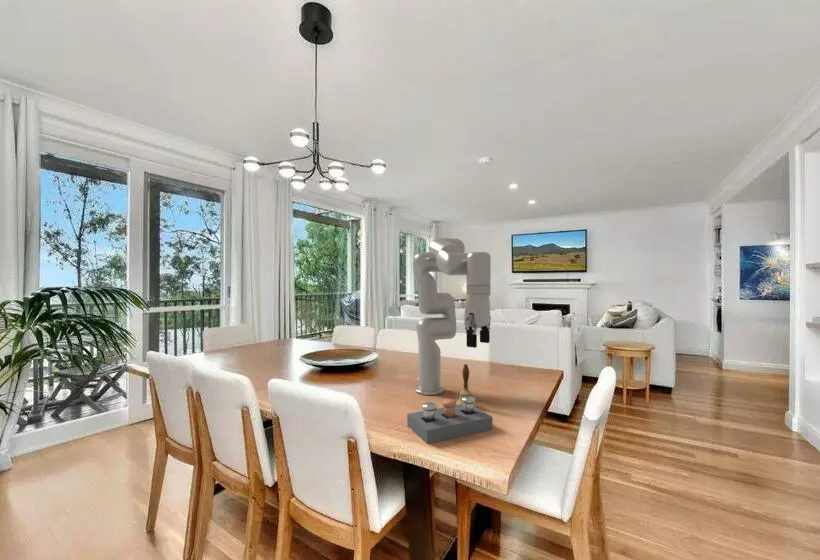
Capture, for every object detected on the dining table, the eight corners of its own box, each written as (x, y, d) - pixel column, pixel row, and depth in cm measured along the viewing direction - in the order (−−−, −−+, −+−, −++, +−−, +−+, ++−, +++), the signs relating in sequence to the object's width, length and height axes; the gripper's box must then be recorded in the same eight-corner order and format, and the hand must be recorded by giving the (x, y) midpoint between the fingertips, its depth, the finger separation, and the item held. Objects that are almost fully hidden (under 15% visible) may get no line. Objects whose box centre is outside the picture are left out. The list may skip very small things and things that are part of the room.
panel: (407, 425, 118) (407, 413, 118) (467, 414, 128) (467, 403, 128) (427, 443, 105) (427, 430, 105) (492, 429, 116) (492, 416, 116)
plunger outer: (420, 419, 115) (420, 403, 115) (432, 416, 116) (432, 401, 116) (426, 424, 111) (426, 408, 111) (438, 421, 113) (438, 406, 112)
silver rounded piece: (459, 411, 121) (459, 397, 121) (470, 409, 123) (470, 395, 123) (466, 416, 117) (466, 401, 117) (477, 414, 119) (477, 399, 119)
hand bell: (450, 406, 136) (450, 364, 136) (463, 400, 142) (463, 361, 142) (468, 412, 130) (468, 368, 130) (481, 406, 136) (481, 364, 136)
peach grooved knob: (440, 415, 118) (440, 400, 118) (451, 413, 120) (451, 398, 120) (447, 420, 114) (447, 404, 114) (458, 417, 116) (458, 402, 116)
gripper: (478, 290, 122) (478, 339, 122) (455, 291, 108) (454, 347, 108) (499, 290, 118) (499, 342, 118) (477, 292, 104) (477, 350, 104)
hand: (478, 344), depth 113 cm, fingers open, 9 cm apart
